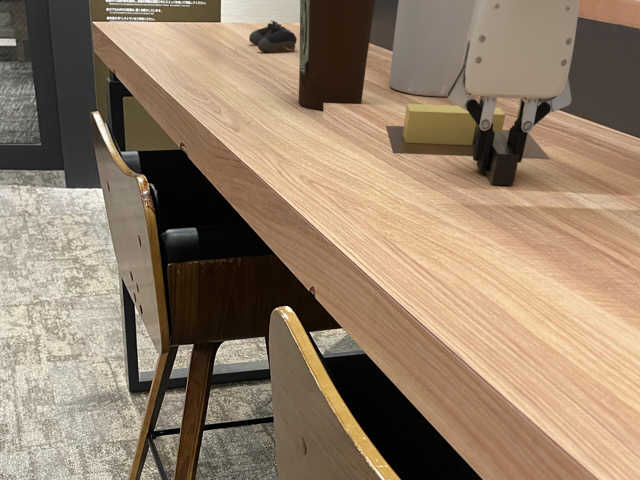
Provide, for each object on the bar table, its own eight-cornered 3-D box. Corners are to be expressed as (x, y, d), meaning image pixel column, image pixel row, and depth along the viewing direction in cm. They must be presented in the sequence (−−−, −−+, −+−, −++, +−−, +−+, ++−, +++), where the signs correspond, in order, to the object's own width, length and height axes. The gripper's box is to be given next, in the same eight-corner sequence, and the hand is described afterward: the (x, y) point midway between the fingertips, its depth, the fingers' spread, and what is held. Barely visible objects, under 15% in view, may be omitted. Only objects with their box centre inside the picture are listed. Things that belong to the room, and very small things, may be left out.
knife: (513, 185, 85) (519, 154, 83) (491, 184, 85) (497, 154, 83) (480, 135, 102) (485, 108, 100) (462, 134, 102) (467, 107, 100)
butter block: (467, 137, 101) (473, 106, 99) (472, 145, 98) (478, 113, 96) (402, 135, 102) (406, 103, 100) (405, 142, 99) (409, 110, 97)
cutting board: (524, 143, 106) (526, 130, 105) (547, 172, 95) (550, 158, 94) (384, 137, 107) (385, 125, 106) (391, 166, 96) (393, 152, 95)
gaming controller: (247, 41, 168) (253, 13, 165) (281, 51, 170) (288, 23, 167) (257, 51, 159) (264, 21, 156) (294, 61, 161) (301, 32, 158)
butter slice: (493, 138, 101) (499, 107, 99) (499, 146, 98) (505, 114, 96) (477, 137, 101) (483, 106, 99) (482, 145, 98) (488, 113, 96)
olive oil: (364, 98, 127) (384, -107, 111) (366, 113, 118) (388, -107, 103) (295, 95, 127) (306, -109, 112) (292, 110, 119) (304, -108, 103)
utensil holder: (487, 85, 137) (510, -43, 126) (467, 101, 126) (491, -37, 115) (401, 77, 141) (417, -47, 130) (375, 92, 131) (390, -42, 120)
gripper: (611, -39, 80) (561, 162, 91) (445, -43, 81) (417, 157, 92) (634, -33, 74) (578, 181, 85) (455, -38, 75) (423, 175, 86)
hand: (495, 167), depth 88 cm, fingers closed on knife, 2 cm apart
